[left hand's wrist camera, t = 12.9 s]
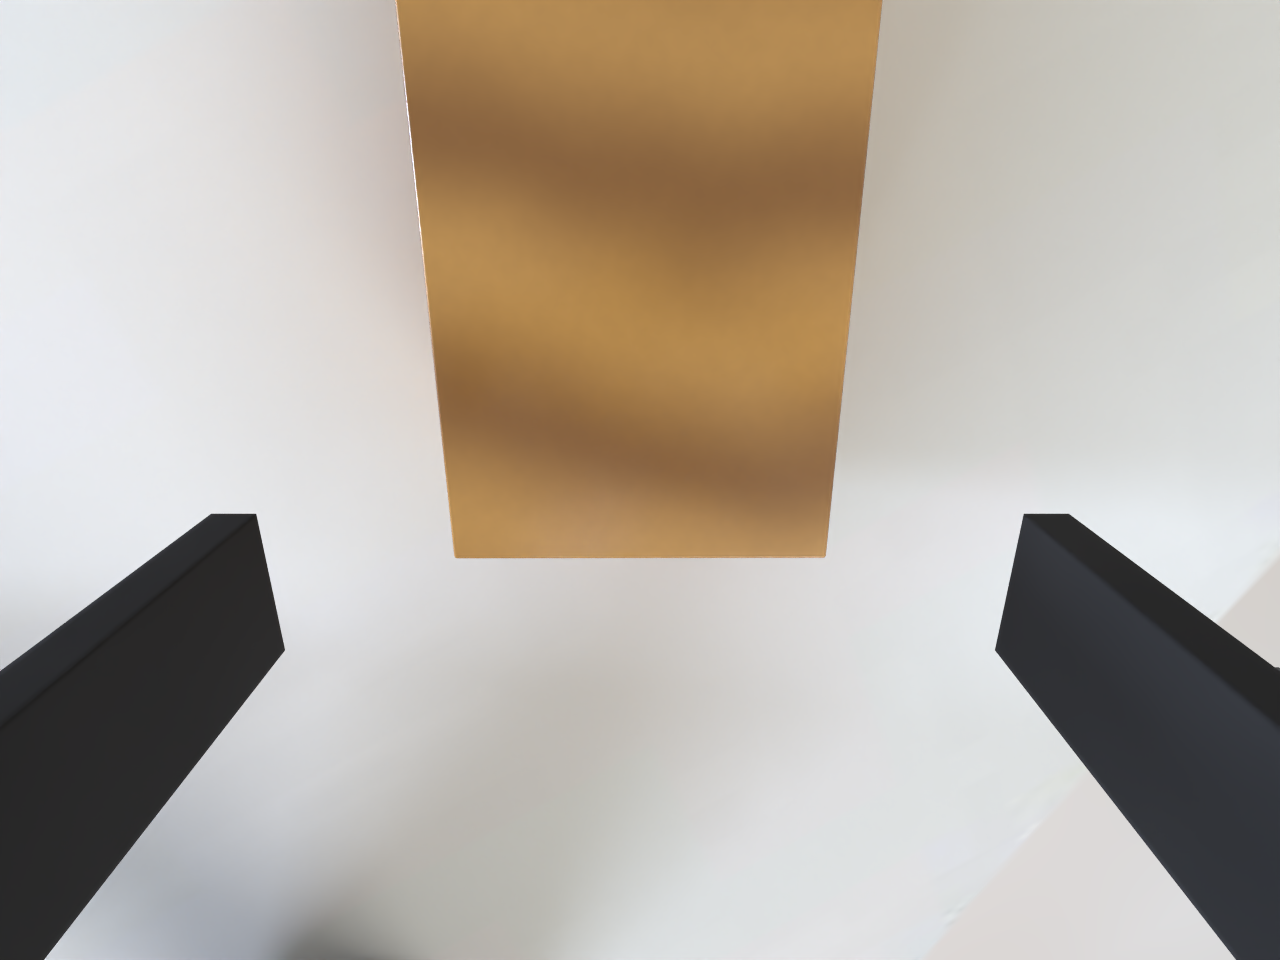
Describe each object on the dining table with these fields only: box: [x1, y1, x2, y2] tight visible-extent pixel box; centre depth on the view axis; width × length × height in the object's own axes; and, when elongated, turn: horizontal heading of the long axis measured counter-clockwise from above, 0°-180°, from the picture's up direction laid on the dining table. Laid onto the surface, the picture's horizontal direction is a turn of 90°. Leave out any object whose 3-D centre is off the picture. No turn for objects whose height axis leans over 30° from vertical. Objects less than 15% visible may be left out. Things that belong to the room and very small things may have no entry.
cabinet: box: [395, 0, 882, 558], centre depth 22 cm, size 22×11×10 cm, turn 0°
